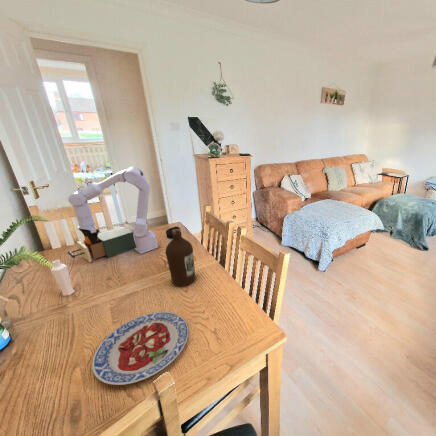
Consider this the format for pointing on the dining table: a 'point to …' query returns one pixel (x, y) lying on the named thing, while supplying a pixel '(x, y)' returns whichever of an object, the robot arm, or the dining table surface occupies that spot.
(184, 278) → the brown bottle
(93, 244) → the orange
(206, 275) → the dining table surface
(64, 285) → the perfume bottle
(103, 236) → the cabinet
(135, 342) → the ceramic plate
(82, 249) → the drawer
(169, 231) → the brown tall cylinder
